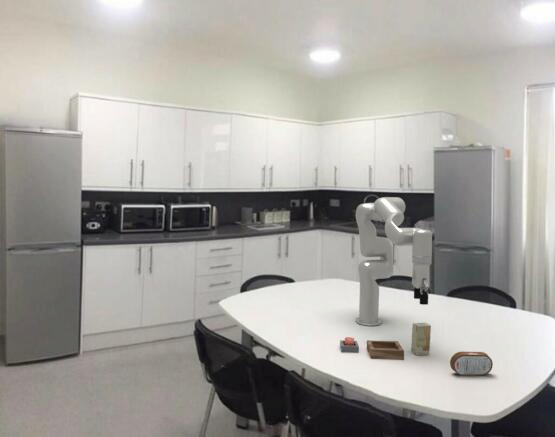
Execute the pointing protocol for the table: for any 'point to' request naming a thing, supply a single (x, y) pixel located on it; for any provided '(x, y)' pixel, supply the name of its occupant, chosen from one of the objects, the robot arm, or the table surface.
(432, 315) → the table surface
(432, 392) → the table surface
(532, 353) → the table surface
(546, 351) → the table surface
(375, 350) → the tray
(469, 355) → the tin
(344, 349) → the button housing
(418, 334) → the skincare box
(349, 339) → the button
